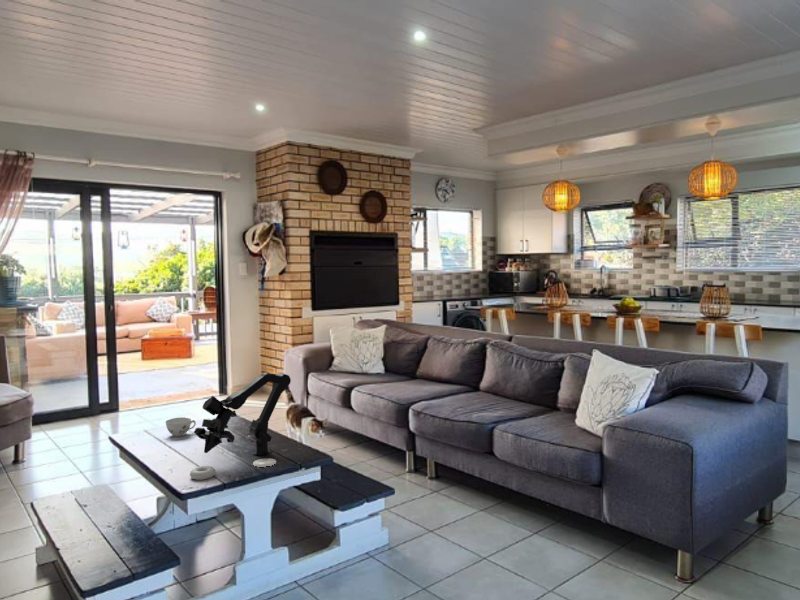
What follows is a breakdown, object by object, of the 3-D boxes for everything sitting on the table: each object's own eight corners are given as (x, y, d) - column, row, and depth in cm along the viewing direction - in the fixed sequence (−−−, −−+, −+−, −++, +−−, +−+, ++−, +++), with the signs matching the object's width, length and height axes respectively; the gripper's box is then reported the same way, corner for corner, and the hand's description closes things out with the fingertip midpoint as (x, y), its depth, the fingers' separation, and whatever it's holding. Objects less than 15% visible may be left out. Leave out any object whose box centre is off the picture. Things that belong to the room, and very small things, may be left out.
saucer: (258, 459, 263) (258, 457, 263) (279, 460, 261) (279, 458, 261) (249, 467, 253) (249, 465, 253) (270, 468, 251) (270, 466, 251)
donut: (189, 475, 244) (190, 482, 235) (189, 466, 244) (190, 474, 235) (214, 471, 248) (216, 478, 239) (214, 463, 248) (216, 470, 239)
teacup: (168, 440, 297) (168, 424, 296) (163, 434, 307) (163, 419, 307) (198, 435, 305) (198, 420, 305) (193, 429, 315) (192, 415, 315)
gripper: (195, 409, 257) (178, 441, 248) (229, 412, 249) (212, 445, 240) (209, 422, 265) (192, 453, 255) (241, 426, 257) (226, 458, 247)
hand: (205, 452), depth 249 cm, fingers closed
